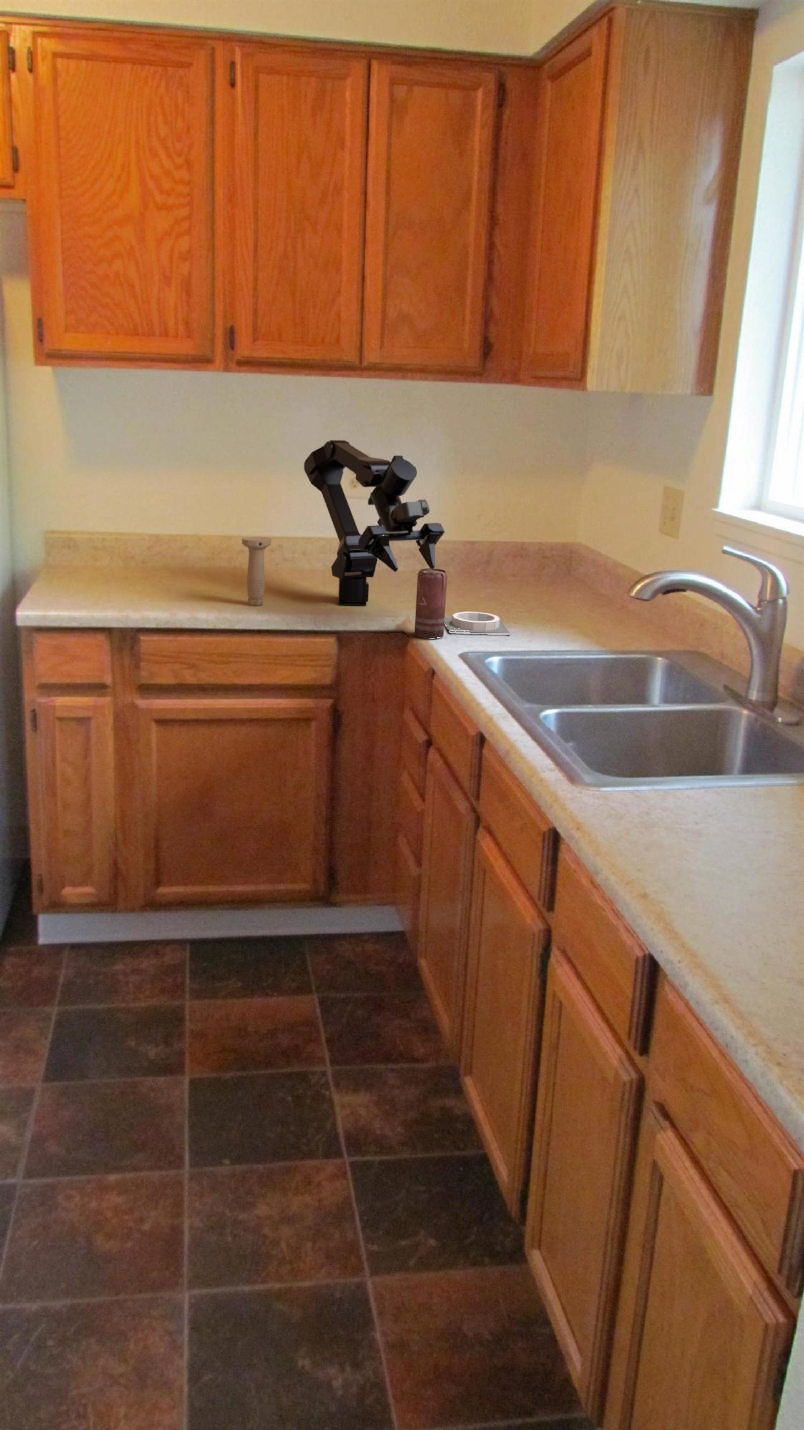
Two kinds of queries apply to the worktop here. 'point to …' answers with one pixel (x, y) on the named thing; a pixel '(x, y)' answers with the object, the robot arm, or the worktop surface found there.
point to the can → (430, 603)
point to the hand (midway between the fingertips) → (415, 569)
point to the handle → (256, 568)
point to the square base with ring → (475, 623)
